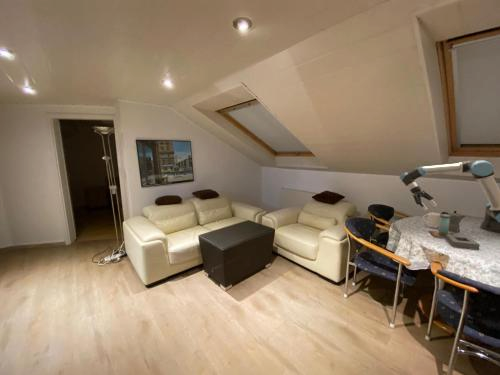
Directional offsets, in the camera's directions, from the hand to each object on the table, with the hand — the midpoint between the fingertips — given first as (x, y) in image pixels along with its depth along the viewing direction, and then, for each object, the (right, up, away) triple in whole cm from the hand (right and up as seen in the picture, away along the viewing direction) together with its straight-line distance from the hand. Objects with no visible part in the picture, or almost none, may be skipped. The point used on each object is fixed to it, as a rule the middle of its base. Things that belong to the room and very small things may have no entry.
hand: (431, 208), depth 181 cm
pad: (+5, -22, -6) cm, 23 cm away
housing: (+4, -25, -22) cm, 33 cm away
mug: (+13, -18, +16) cm, 27 cm away
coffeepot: (+20, -20, +3) cm, 29 cm away
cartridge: (+5, -21, -6) cm, 22 cm away
